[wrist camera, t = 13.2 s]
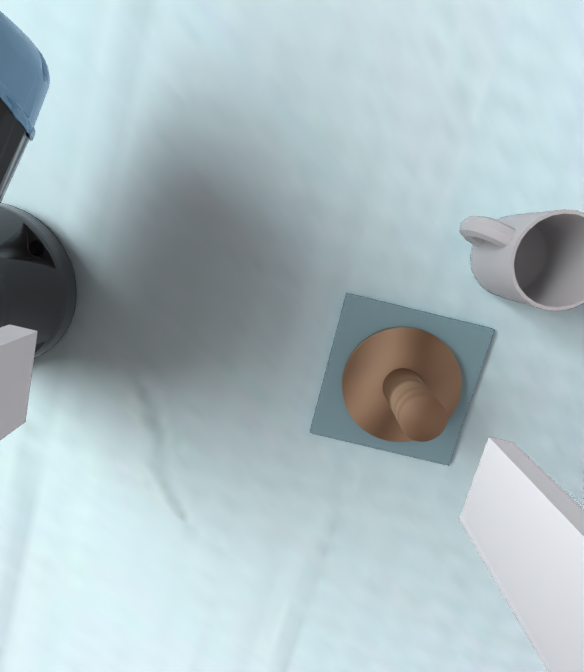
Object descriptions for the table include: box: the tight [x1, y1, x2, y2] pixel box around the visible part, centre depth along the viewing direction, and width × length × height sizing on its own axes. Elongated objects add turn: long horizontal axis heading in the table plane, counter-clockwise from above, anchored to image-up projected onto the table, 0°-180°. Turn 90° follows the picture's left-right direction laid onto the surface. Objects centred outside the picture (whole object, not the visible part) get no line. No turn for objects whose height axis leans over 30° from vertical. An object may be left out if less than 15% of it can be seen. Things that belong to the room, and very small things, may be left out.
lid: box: [342, 327, 462, 442], centre depth 40 cm, size 11×11×9 cm
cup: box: [459, 209, 584, 311], centre depth 38 cm, size 7×10×9 cm
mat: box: [310, 293, 494, 466], centre depth 45 cm, size 14×14×1 cm
